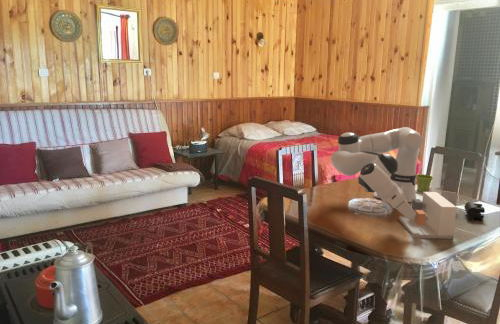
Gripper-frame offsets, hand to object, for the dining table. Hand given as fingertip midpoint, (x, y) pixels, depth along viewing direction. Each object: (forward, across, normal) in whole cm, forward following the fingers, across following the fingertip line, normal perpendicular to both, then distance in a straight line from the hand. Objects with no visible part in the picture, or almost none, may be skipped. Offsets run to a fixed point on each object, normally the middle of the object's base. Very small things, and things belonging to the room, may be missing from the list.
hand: (413, 217), depth 175 cm
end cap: (+32, -25, +20) cm, 46 cm away
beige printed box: (+26, -35, +14) cm, 46 cm away
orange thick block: (+4, 0, +1) cm, 4 cm away
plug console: (+11, -8, 0) cm, 14 cm away
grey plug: (+7, -16, +4) cm, 18 cm away
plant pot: (+26, -72, +15) cm, 78 cm away
